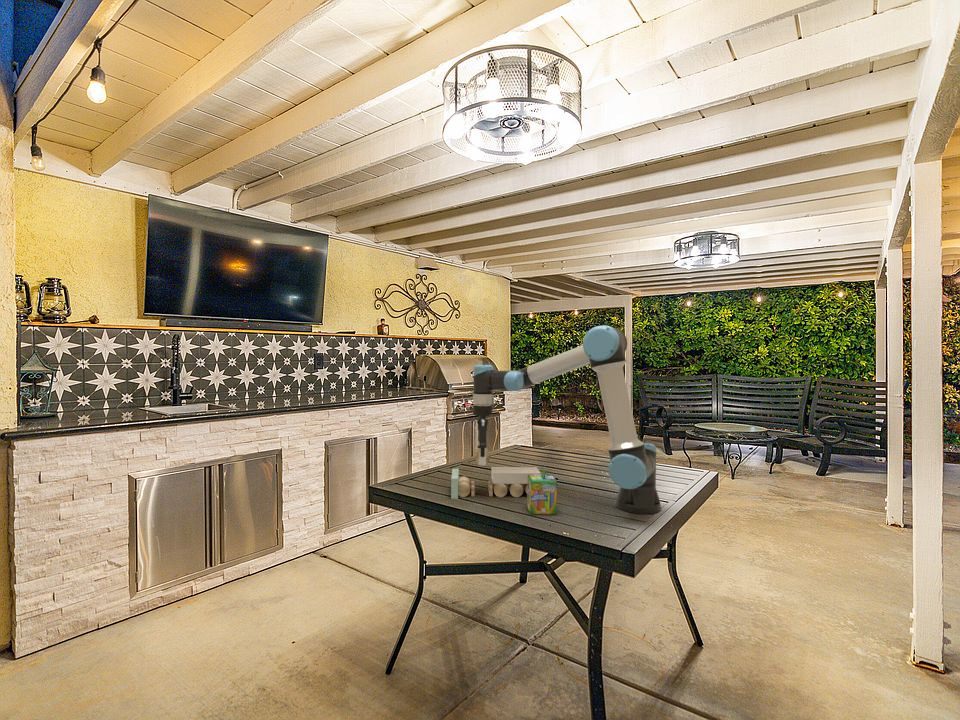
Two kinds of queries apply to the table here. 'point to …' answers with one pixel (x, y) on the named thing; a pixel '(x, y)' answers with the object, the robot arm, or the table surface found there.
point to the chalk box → (542, 493)
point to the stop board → (454, 483)
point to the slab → (512, 474)
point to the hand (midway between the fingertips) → (481, 461)
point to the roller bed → (490, 488)
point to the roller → (478, 456)
